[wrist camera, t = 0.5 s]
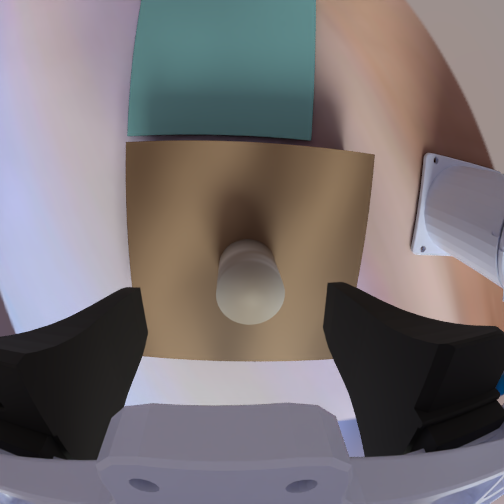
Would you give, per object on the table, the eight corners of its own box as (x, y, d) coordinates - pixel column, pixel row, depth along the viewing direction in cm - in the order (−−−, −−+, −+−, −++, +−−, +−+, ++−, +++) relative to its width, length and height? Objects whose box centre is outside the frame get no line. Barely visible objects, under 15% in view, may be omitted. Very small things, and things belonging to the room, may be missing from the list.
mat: (314, -12, 16) (315, -14, 15) (309, 140, 20) (311, 140, 19) (146, -15, 15) (144, -18, 14) (129, 136, 19) (127, 136, 18)
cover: (344, 151, 20) (407, 158, 12) (322, 321, 24) (356, 393, 16) (150, 142, 19) (99, 142, 11) (156, 317, 23) (128, 392, 15)
